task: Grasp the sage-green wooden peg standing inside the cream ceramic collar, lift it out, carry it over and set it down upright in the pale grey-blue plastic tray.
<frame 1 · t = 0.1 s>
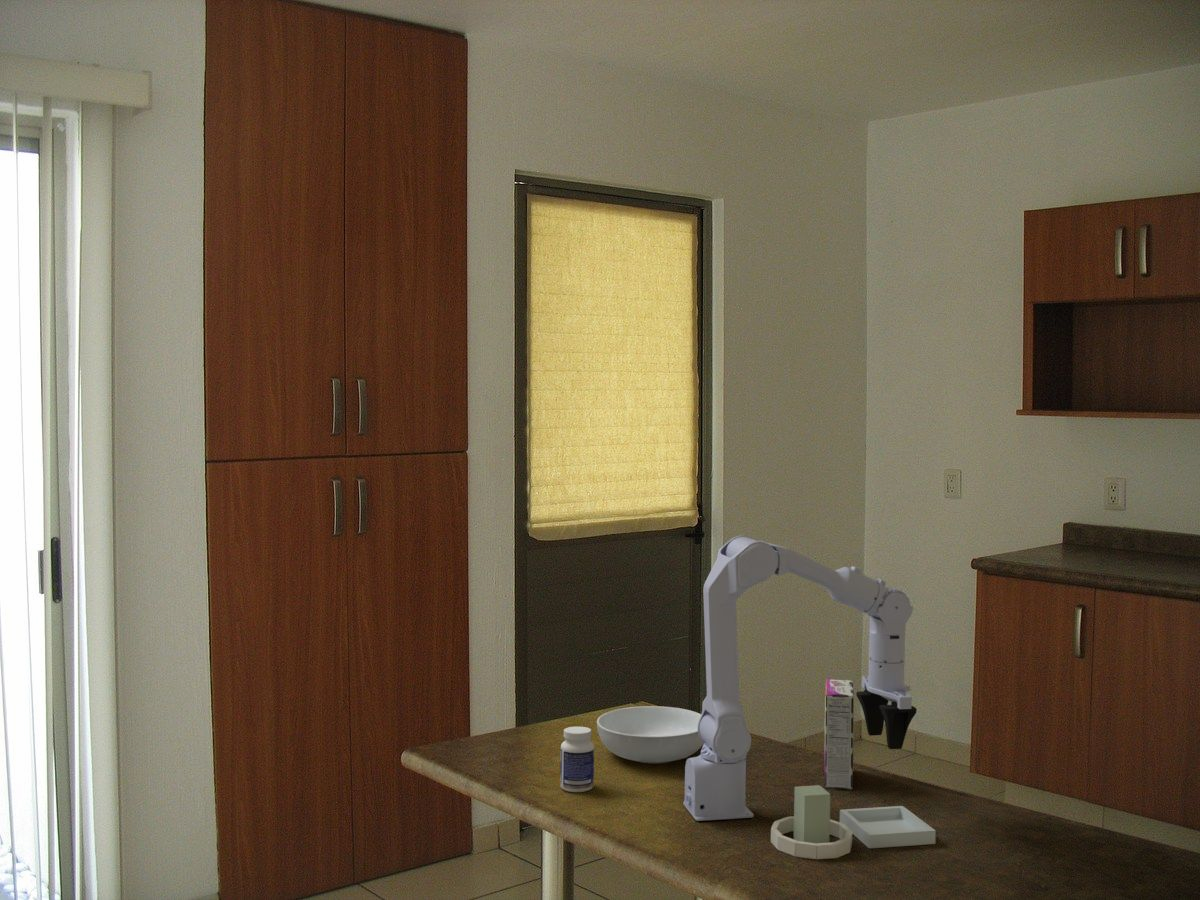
hand: (884, 741, 184), 10 cm above the table, fingers open, 7 cm apart
collar: (811, 843, 166), on the table
peg: (811, 816, 166), in the collar
serving bowl: (652, 757, 207), on the table
candy bar box: (837, 780, 195), on the table
tray: (886, 832, 170), on the table
pill bottle: (576, 788, 189), on the table
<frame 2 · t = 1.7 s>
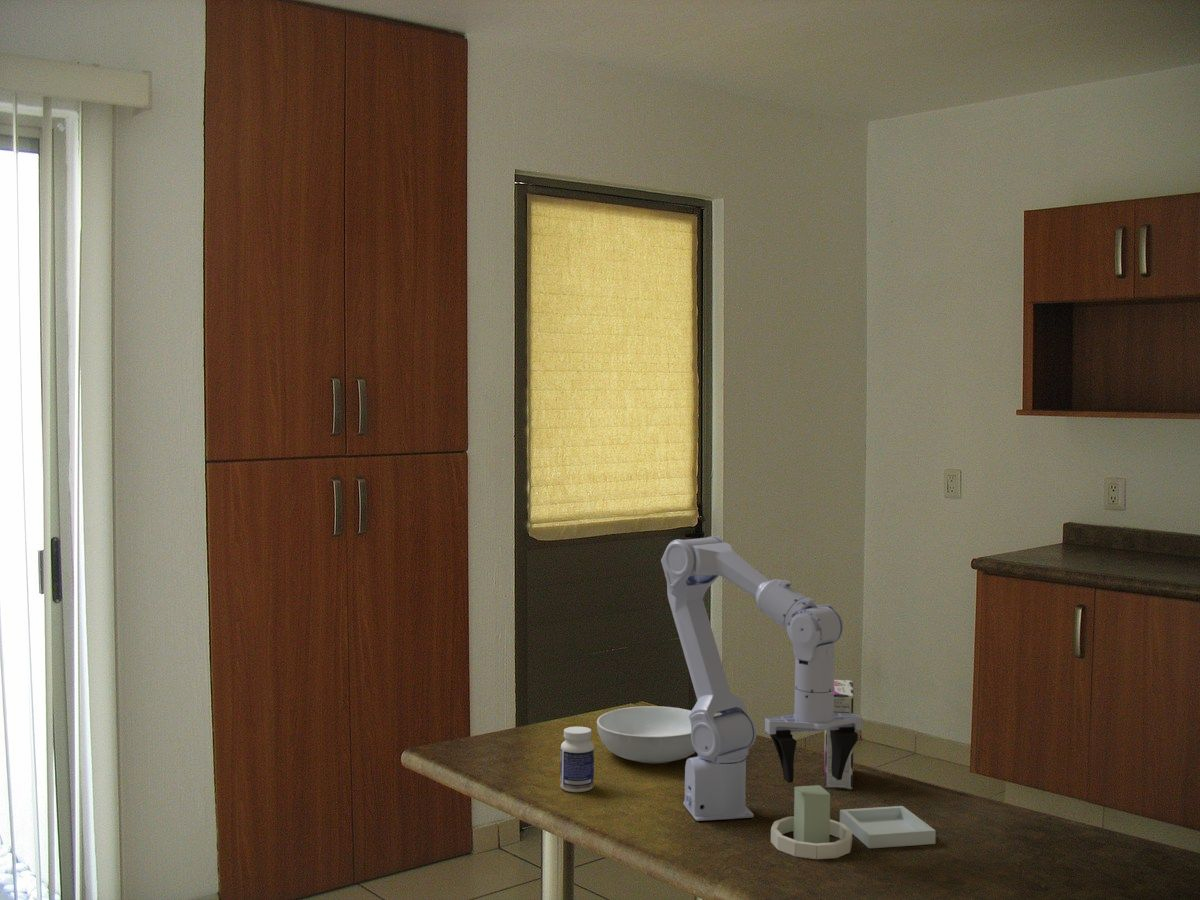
hand: (812, 779, 165), 10 cm above the table, fingers open, 7 cm apart
nothing on the table moved.
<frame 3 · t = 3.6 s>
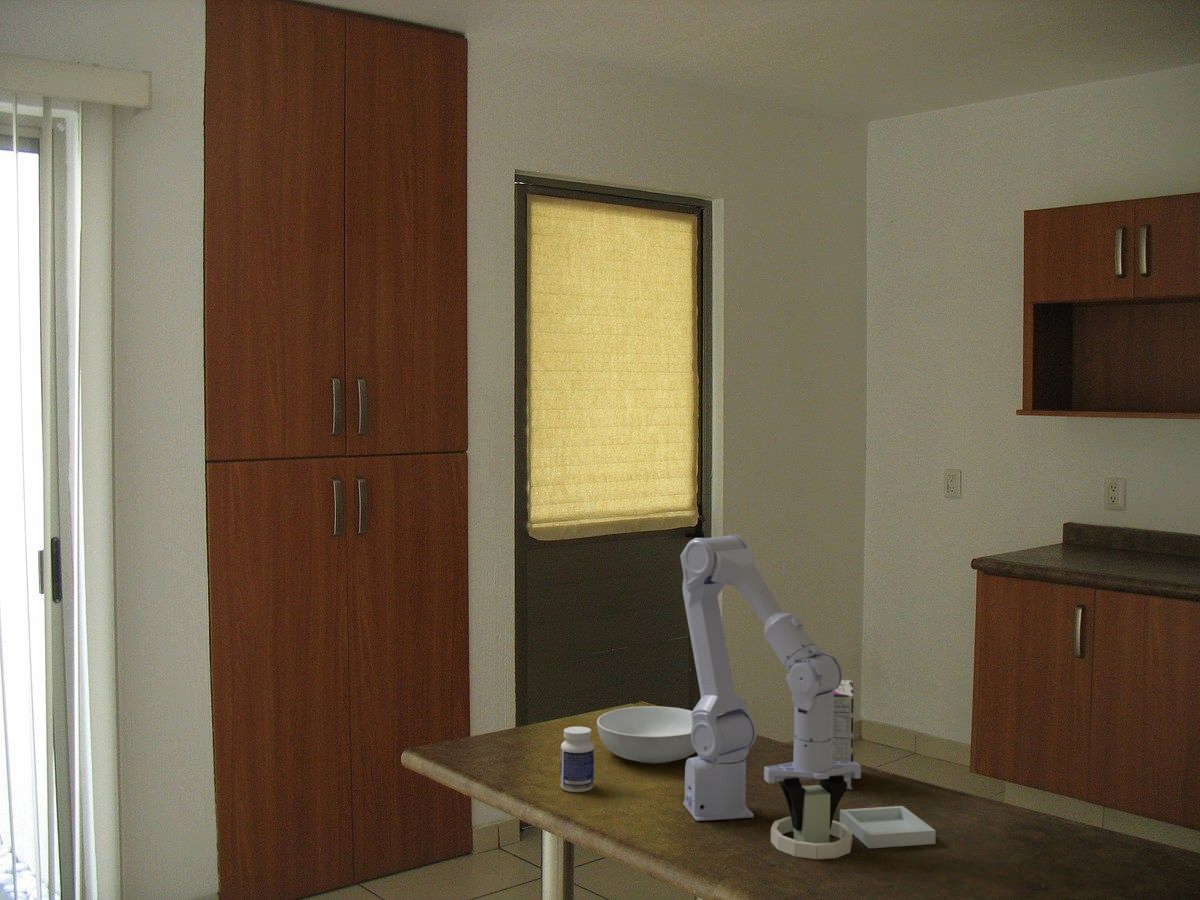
hand: (811, 827, 166), 2 cm above the table, fingers closed on peg, 4 cm apart
peg: (811, 816, 166), in the collar, touching gripper
everything else where it was.
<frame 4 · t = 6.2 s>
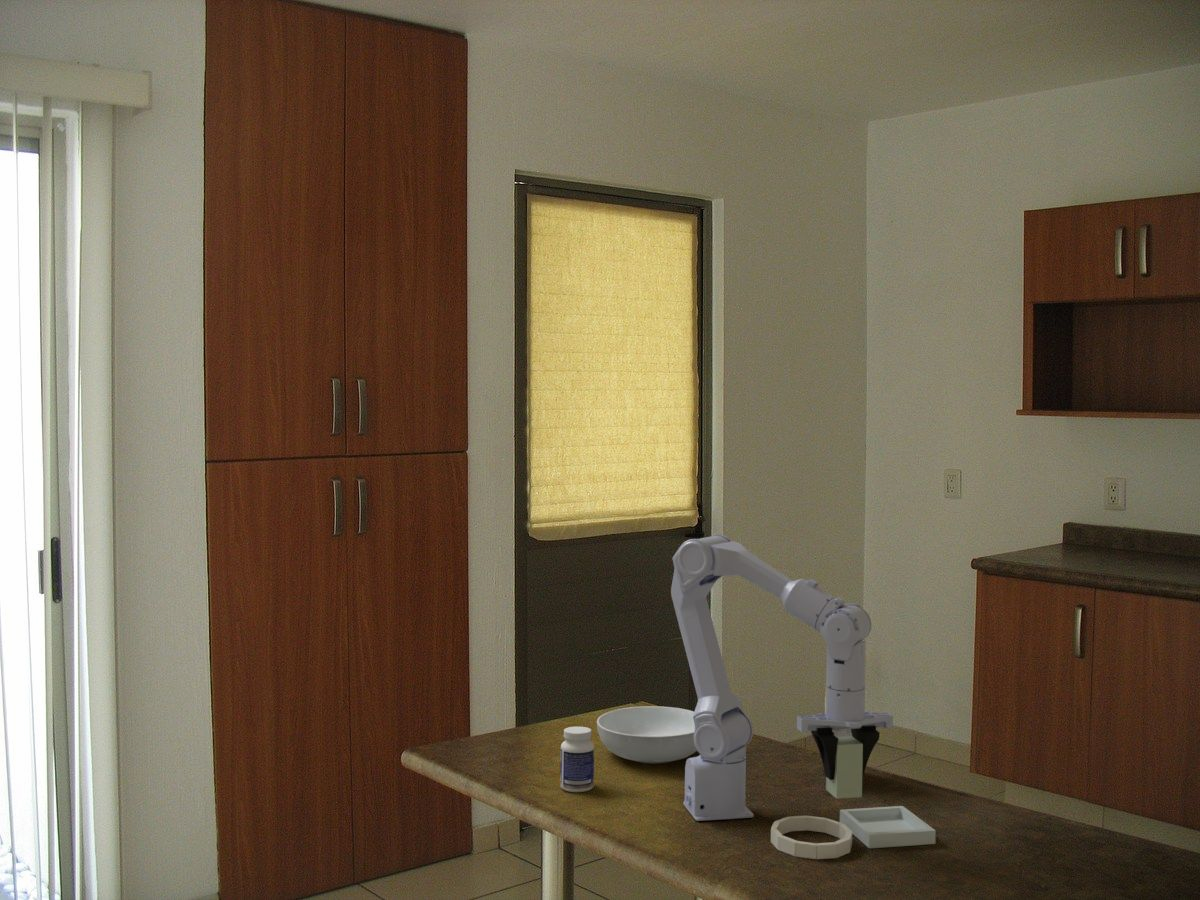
hand: (844, 776, 167), 9 cm above the table, fingers closed on peg, 4 cm apart
peg: (844, 766, 167), point 11 cm above the table, touching gripper
everything else where it was.
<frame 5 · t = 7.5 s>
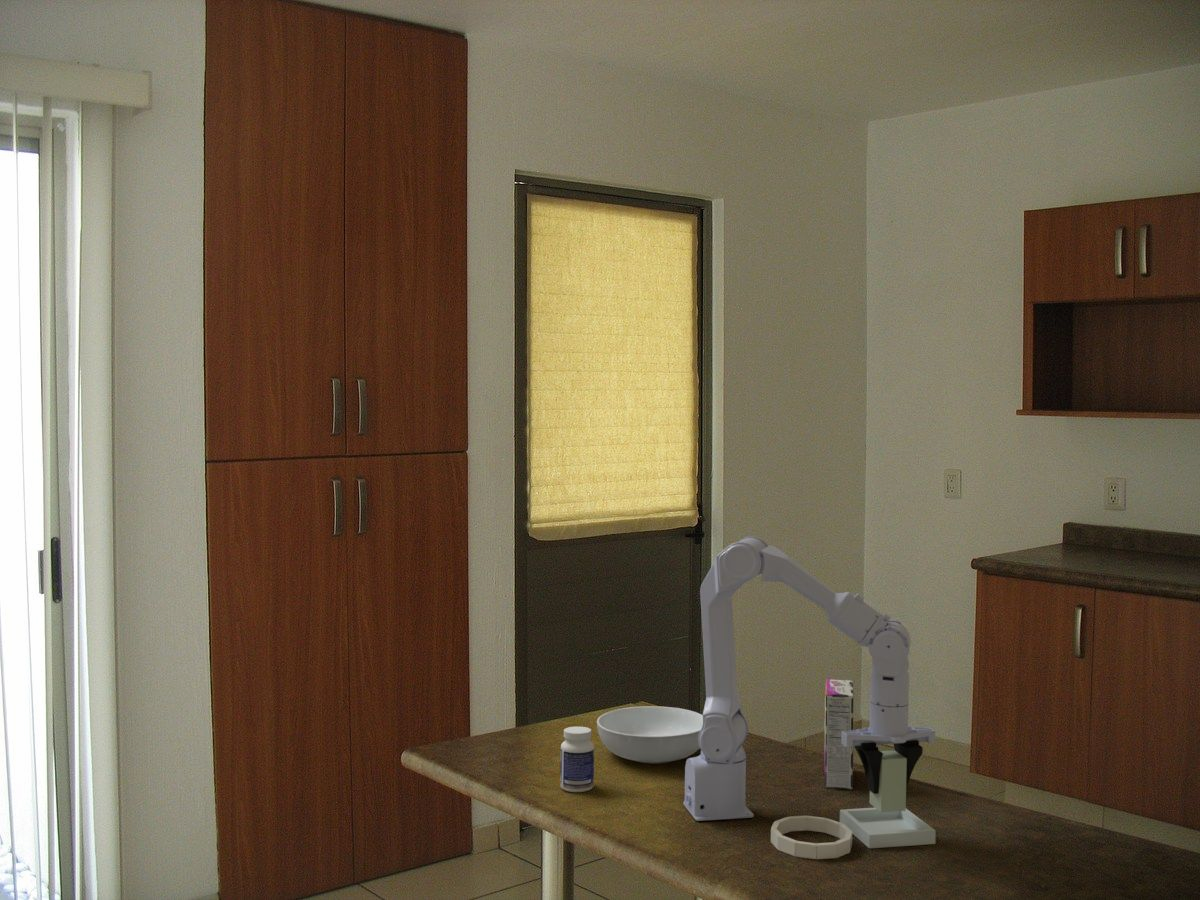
hand: (887, 790, 170), 7 cm above the table, fingers closed on peg, 4 cm apart
peg: (887, 780, 170), point 8 cm above the table, touching gripper
everything else where it was.
when the fingers open (4 cm above the table, at t = 8.8 s): peg drops 1 cm, resting on tray.
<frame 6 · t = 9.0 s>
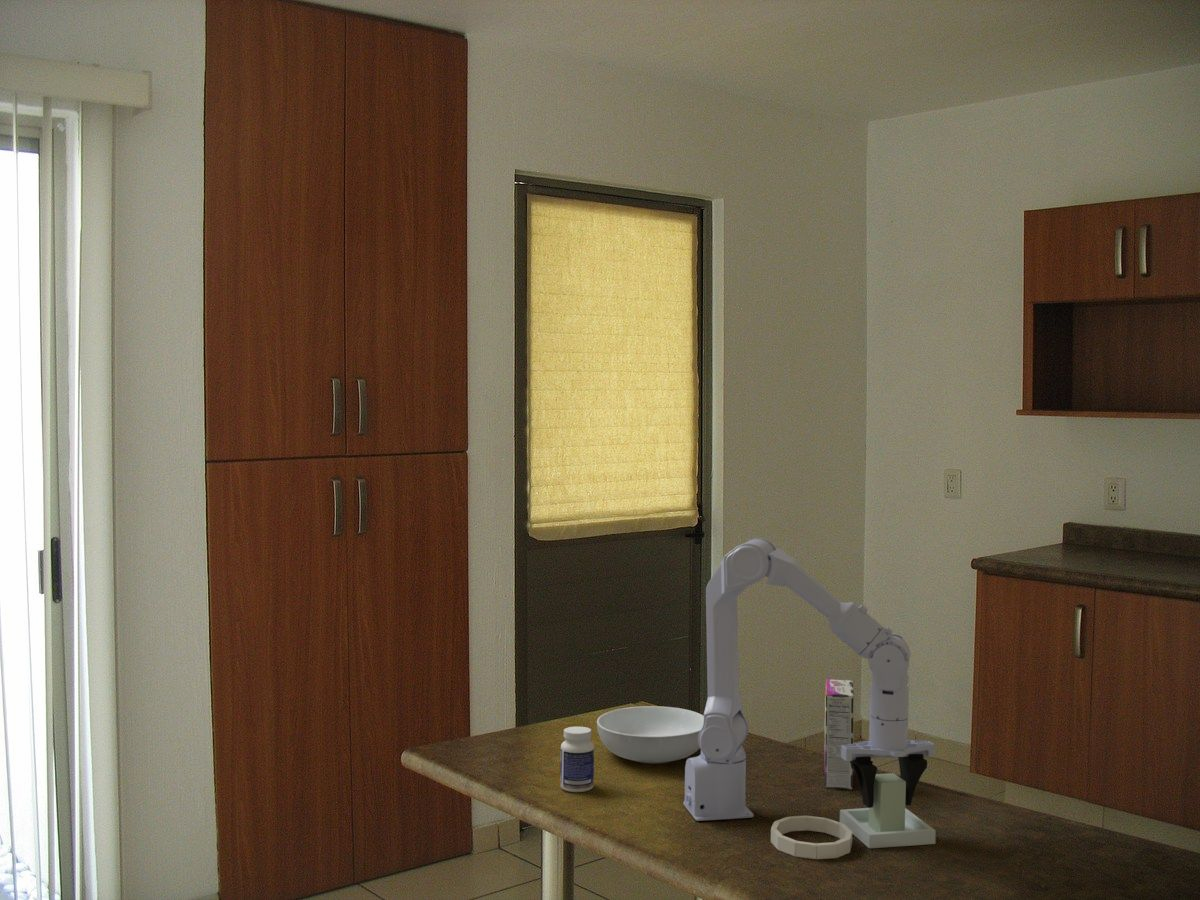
hand: (886, 804, 170), 4 cm above the table, fingers open, 6 cm apart
peg: (886, 803, 170), in the tray
everything else where it was.
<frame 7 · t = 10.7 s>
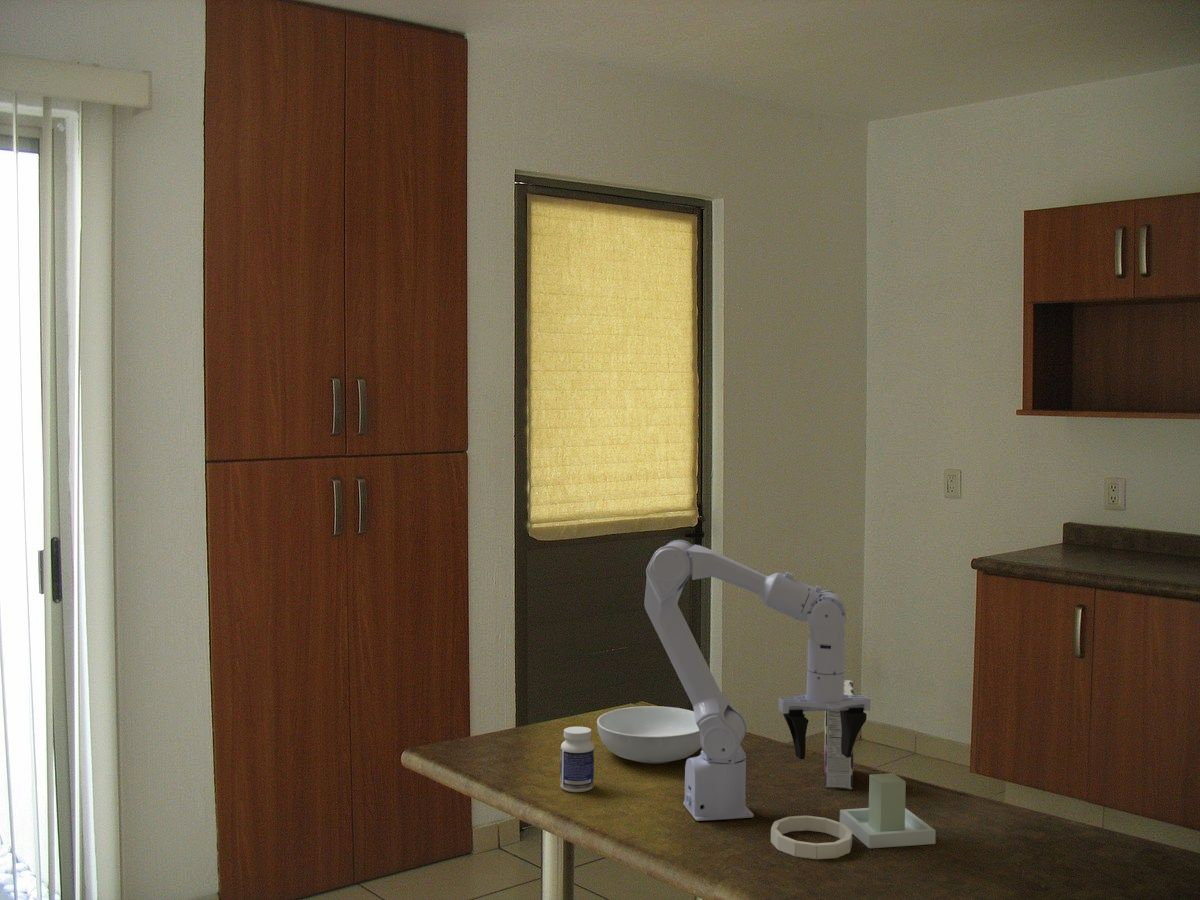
hand: (823, 756, 175), 10 cm above the table, fingers open, 7 cm apart
nothing on the table moved.
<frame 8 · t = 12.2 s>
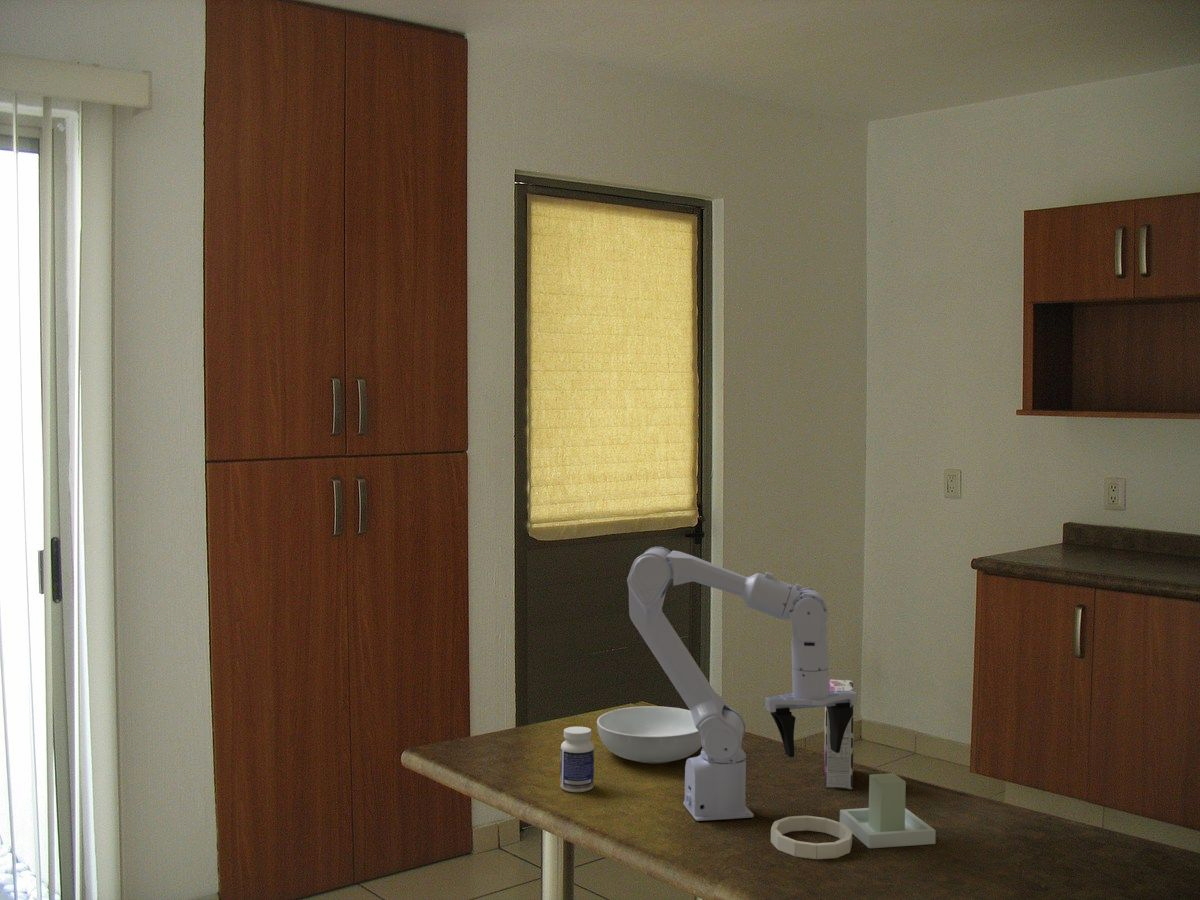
hand: (812, 753, 176), 10 cm above the table, fingers open, 7 cm apart
nothing on the table moved.
at the end: peg 0.1 cm off-centre on the tray, point 4.5 cm above the tray's base; peg tilted 0°; the gripper is holding nothing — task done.
